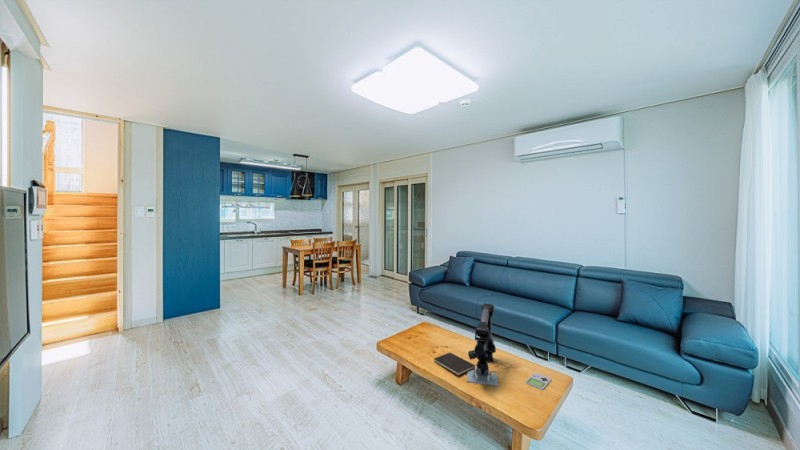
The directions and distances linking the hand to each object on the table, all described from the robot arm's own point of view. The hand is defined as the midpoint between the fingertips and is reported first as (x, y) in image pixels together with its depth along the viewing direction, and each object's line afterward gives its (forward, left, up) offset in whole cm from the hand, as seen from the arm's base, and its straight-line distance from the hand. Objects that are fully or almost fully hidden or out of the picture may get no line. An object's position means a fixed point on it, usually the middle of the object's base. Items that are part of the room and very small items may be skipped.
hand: (482, 372), depth 172 cm
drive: (0, 0, -1) cm, 1 cm away
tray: (0, 0, -4) cm, 4 cm away
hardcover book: (-11, -18, -4) cm, 21 cm away
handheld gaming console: (-5, +33, -5) cm, 34 cm away
